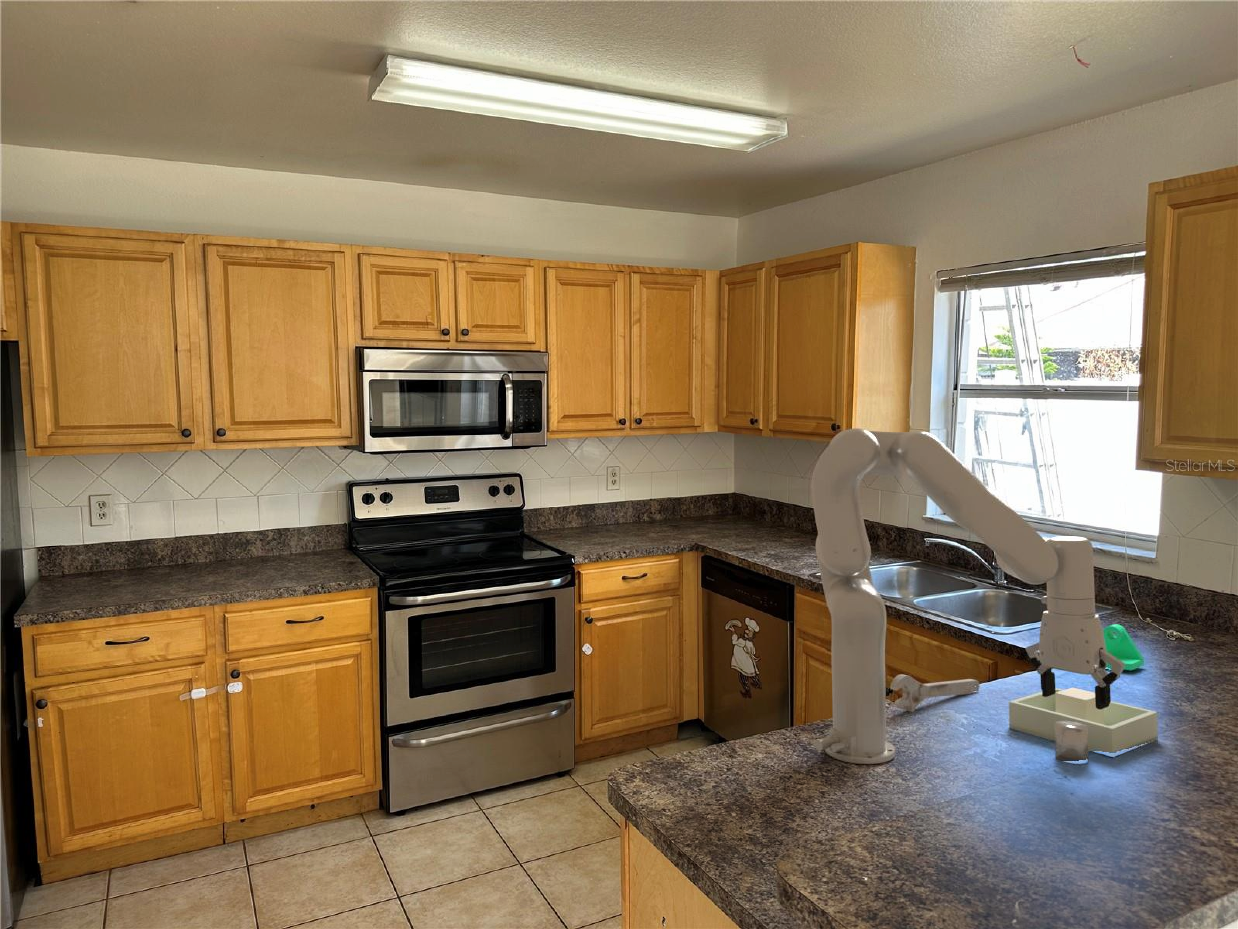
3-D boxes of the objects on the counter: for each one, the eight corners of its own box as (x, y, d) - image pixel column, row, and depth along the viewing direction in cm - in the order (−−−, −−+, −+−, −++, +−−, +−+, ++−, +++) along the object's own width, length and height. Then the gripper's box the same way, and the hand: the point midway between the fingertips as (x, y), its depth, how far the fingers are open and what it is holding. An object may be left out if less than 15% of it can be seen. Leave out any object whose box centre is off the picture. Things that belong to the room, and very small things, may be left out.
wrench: (979, 704, 193) (895, 715, 176) (971, 703, 194) (887, 713, 178) (980, 669, 193) (897, 676, 176) (973, 667, 195) (890, 675, 178)
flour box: (1086, 737, 160) (1086, 700, 160) (1055, 728, 165) (1055, 692, 165) (1103, 730, 163) (1103, 694, 163) (1072, 722, 168) (1072, 687, 168)
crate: (1112, 758, 151) (1112, 728, 151) (1009, 728, 168) (1008, 701, 168) (1157, 739, 160) (1157, 712, 160) (1055, 713, 177) (1054, 687, 177)
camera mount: (1079, 665, 213) (1078, 625, 213) (1092, 660, 218) (1092, 620, 218) (1131, 675, 204) (1130, 632, 204) (1144, 669, 209) (1143, 628, 208)
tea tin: (1078, 766, 148) (1077, 732, 148) (1049, 757, 152) (1049, 724, 152) (1094, 760, 151) (1093, 726, 150) (1065, 751, 155) (1065, 719, 155)
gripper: (1013, 603, 156) (1017, 695, 156) (1109, 616, 141) (1113, 717, 142) (1037, 597, 160) (1041, 687, 160) (1132, 609, 145) (1136, 708, 146)
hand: (1075, 701), depth 151 cm, fingers open, 9 cm apart
